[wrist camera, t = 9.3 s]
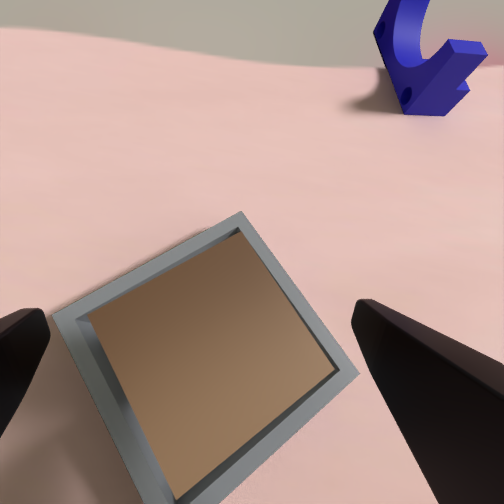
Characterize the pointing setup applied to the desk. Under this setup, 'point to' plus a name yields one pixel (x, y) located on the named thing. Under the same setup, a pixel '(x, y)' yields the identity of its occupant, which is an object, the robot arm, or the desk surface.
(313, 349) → the wooden post on base
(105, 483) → the desk surface
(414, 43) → the cable clip
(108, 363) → the tray
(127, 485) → the desk surface
